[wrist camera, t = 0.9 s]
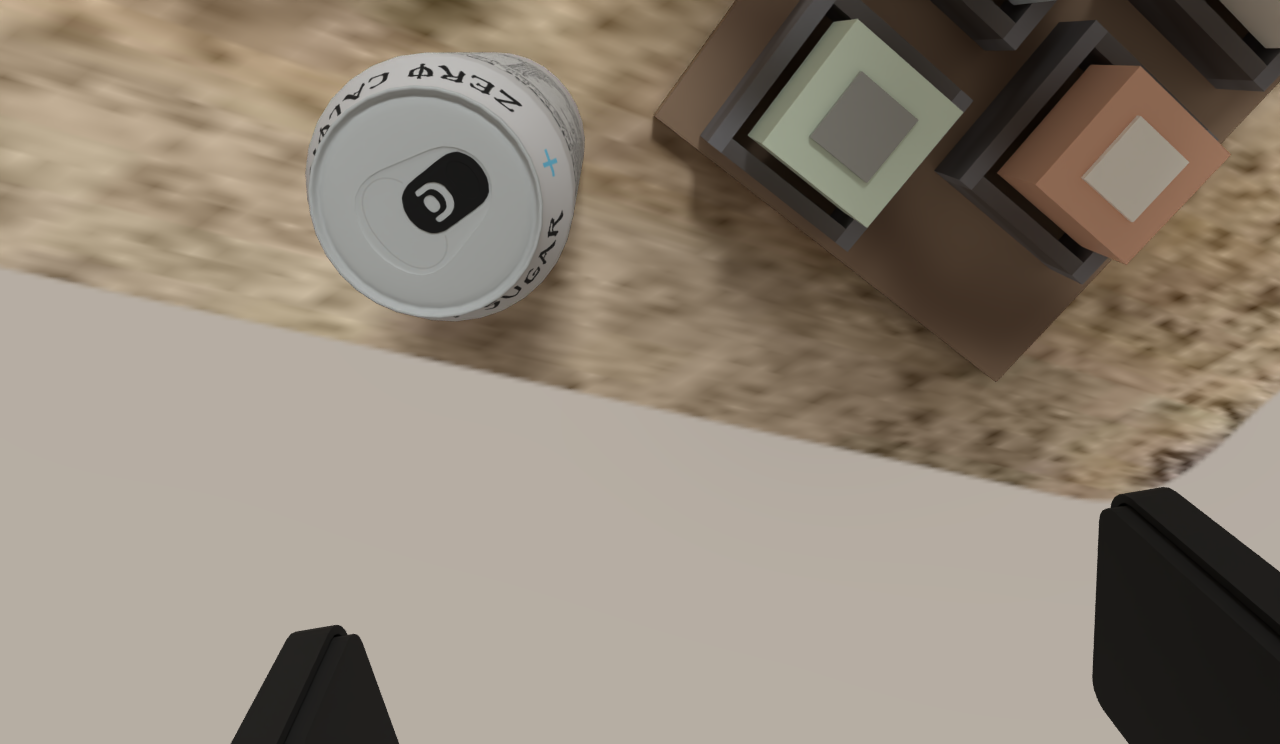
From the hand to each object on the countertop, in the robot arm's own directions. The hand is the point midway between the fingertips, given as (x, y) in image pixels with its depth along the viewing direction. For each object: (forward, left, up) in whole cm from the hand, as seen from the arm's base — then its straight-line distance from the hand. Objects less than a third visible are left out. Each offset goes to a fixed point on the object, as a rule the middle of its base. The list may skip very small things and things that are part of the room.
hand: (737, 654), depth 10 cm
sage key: (-8, +2, -21) cm, 23 cm away
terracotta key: (-12, +10, -21) cm, 26 cm away
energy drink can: (0, -7, -24) cm, 25 cm away
